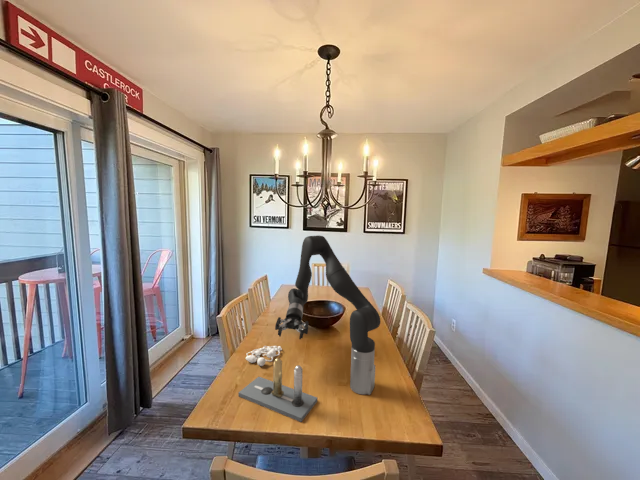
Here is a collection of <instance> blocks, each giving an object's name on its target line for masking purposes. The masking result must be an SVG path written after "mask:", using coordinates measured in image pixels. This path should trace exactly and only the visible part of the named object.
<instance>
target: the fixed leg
mask: <svg viewBox="0 0 640 480" xmlns="http://www.w3.org/2000/svg"><path fill="white" fill-rule="evenodd" d="M293 389H294V404H295V405H301V404H302V392H303V368H302V366H301V365H296V366H295V368H293Z"/></svg>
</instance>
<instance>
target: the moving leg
mask: <svg viewBox="0 0 640 480" xmlns="http://www.w3.org/2000/svg"><path fill="white" fill-rule="evenodd" d="M272 362H273V363H272V364H273V370H272V371H273V377H272V378H273V380H272V381H273V391H272V392H271V394H272V395H275V396H277V397H281V396H282V395H283V394H284V391H282V385H283V360H281V358H280V357H276V358H275V359H274V360H273V361H272Z"/></svg>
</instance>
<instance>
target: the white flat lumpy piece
mask: <svg viewBox="0 0 640 480" xmlns="http://www.w3.org/2000/svg"><path fill="white" fill-rule="evenodd" d="M282 350H283V348H282V347H281V345H278V346H277V345H271V346H268V345H263V347H261V348H255V349H252V351H249V352H246V357H245V360H246V361H248V362H249V363H251V364H254V363H257V366H259V367H263V366H264V365H265V364H266V363H267V362H269V363H270V362H274V358H275V357H279V356H280V354H281V351H282ZM277 352H278V354H277ZM250 353H251V354H250ZM248 354H250V355H248ZM261 355H262V357H261ZM264 356H265V357H267V358H268V359H266V358H265V357H264Z"/></svg>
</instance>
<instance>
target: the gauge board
mask: <svg viewBox="0 0 640 480" xmlns="http://www.w3.org/2000/svg"><path fill="white" fill-rule="evenodd" d="M272 391H273V380H270V379H267V378H263V377H261V376H257V377H256V378H255V379H253V380H252V381H250V382H249V384H247V385H246V386H244V388H242V389H241V390H240V391H238V395H237V396H238V397H239V398H241V399H244V400H246V401H248V402H251V403H254V404H256V405H258V406H261V407H264V408H265V409H269V410H270V411H273V412H276V413H278V414H281V415H283V416H285V417H287V418H290V419H293V420H295V421H297V422H300V423H302V422H303V420H304V419H305V418H306V417H307V415H308V414H309V413H310V412H311V411H312V409H313V407H314V406H315V405H316V404H317V402H318V400H319V399H318V397H317V396H314V395H312V394H308V393H306V392H303V391H302V404H301V405H295V404H294V388H292V387H289V386H287V385H283V384H282V391H284V394H283V395H282V396H281V397H277V396H275V395H272V394H271V392H272Z"/></svg>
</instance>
